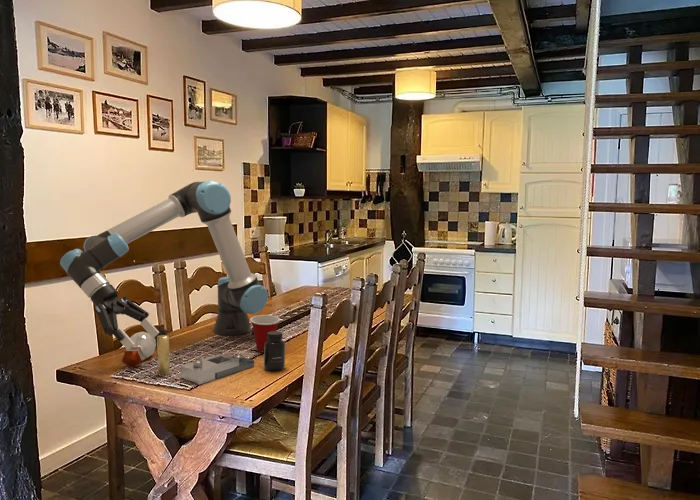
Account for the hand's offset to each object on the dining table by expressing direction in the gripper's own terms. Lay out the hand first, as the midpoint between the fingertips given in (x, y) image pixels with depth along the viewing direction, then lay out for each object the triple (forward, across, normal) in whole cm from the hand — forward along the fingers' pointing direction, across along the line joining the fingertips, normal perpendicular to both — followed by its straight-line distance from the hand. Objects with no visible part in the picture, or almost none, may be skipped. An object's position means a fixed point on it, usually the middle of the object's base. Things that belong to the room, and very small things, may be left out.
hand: (144, 341), depth 160 cm
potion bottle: (+2, -10, -13) cm, 17 cm away
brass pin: (+12, -1, -3) cm, 12 cm away
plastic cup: (+27, -32, +13) cm, 44 cm away
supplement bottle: (+34, -14, +20) cm, 42 cm away
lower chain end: (+24, -9, +9) cm, 27 cm away
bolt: (-2, -32, -18) cm, 37 cm away
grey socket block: (+22, -3, +7) cm, 23 cm away
